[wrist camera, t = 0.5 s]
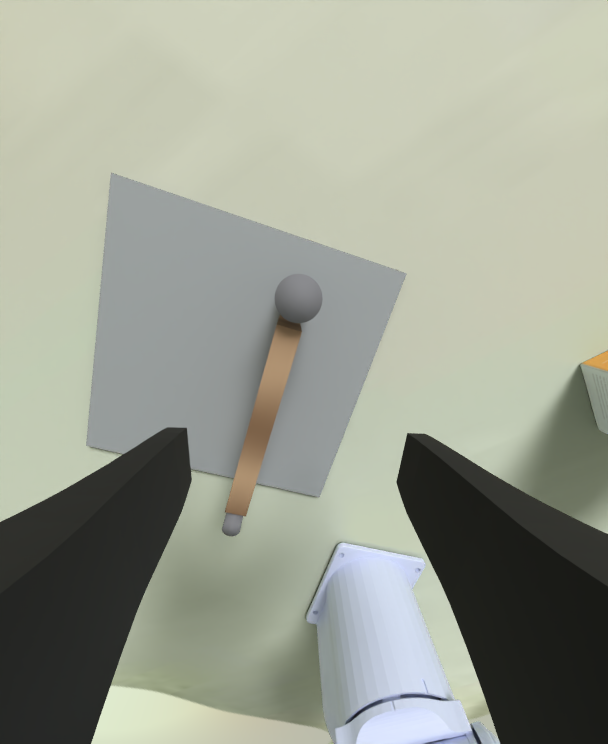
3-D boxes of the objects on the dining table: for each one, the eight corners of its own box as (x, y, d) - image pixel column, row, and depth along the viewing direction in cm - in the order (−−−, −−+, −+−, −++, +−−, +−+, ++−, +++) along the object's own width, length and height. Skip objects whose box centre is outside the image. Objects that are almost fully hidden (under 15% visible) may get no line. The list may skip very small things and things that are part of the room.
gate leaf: (280, 313, 17) (276, 324, 13) (299, 319, 17) (302, 331, 13) (238, 464, 20) (224, 511, 16) (255, 467, 20) (245, 516, 16)
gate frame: (115, 175, 15) (11, 113, 10) (404, 273, 18) (458, 271, 12) (90, 442, 20) (10, 507, 14) (318, 493, 22) (328, 567, 17)
